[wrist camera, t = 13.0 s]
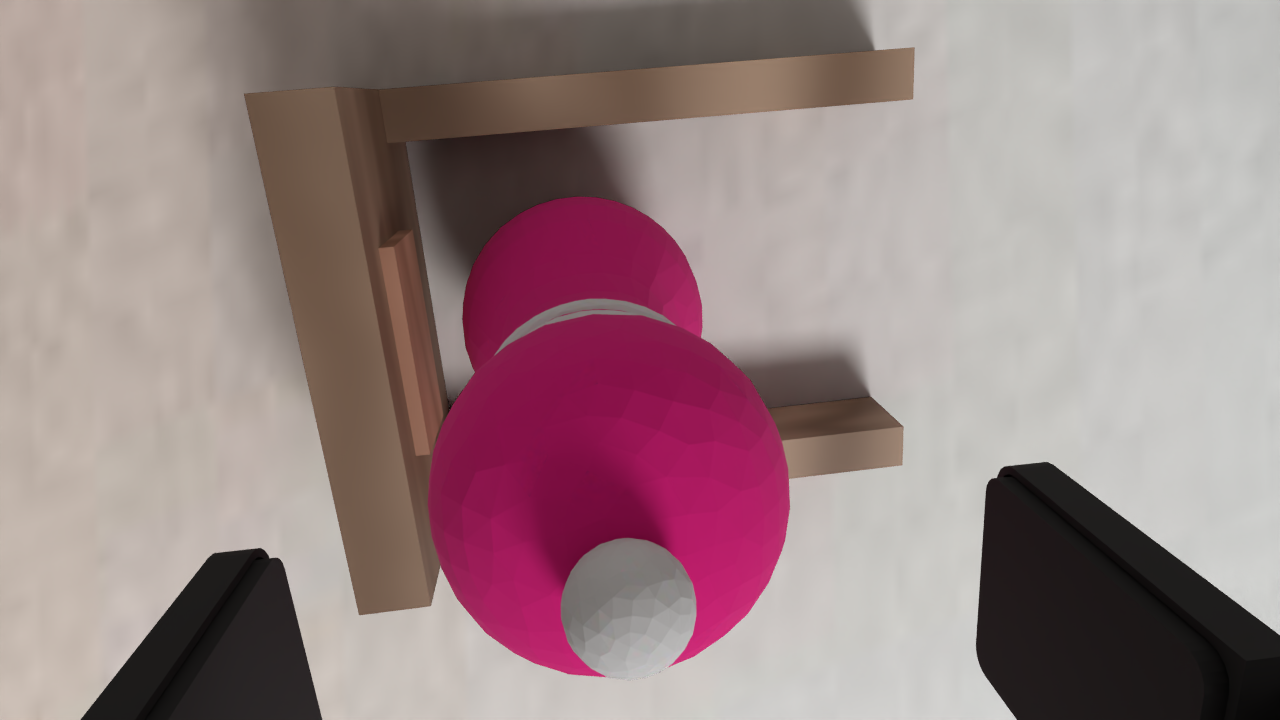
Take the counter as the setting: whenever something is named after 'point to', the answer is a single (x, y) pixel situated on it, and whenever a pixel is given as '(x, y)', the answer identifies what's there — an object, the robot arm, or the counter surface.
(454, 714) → the counter surface
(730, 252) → the counter surface
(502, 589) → the pepper mill
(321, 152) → the spice rack
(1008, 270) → the counter surface
